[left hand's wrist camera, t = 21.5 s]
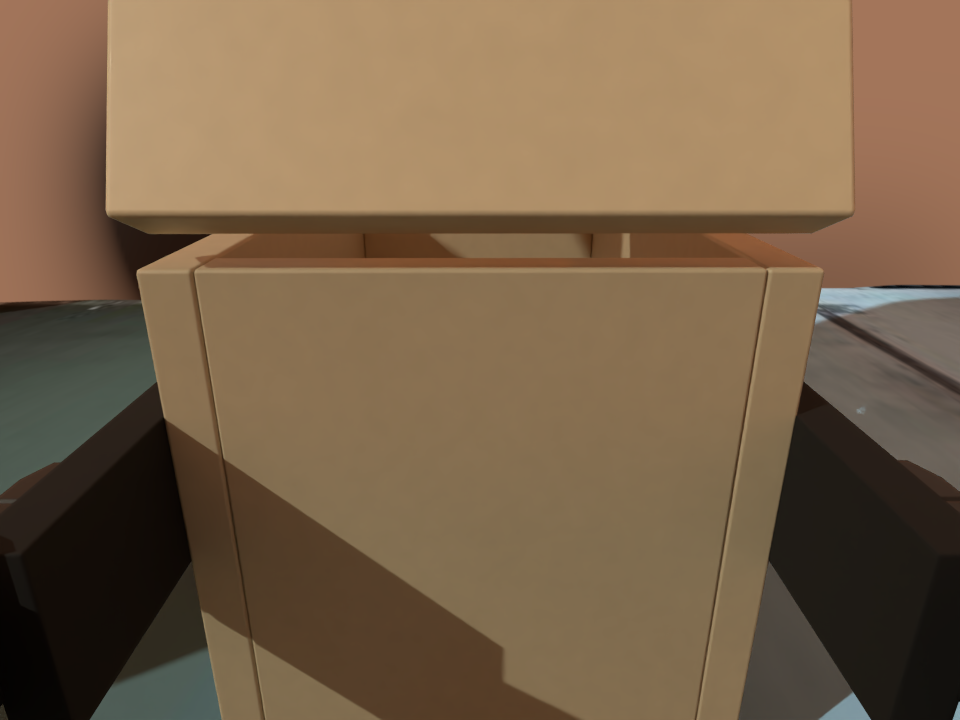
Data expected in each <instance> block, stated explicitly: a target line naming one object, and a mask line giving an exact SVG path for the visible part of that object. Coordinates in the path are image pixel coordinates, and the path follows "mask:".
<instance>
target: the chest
mask: <svg viewBox="0 0 960 720" xmlns="http://www.w3.org/2000/svg"><path fill="white" fill-rule="evenodd" d="M823 277H824V270H823V269H821V268H819V267H817V266H815V265H813V264H810V263H808V262H806V261H804V260H802V259H800V258H798V257H795V256H793V255H791V254H789V253H787V252H785V251H782V250H780V249H778V248H776V247H774V246H772V245H769V244H767V243H765V242H763V241H761V240H759V239H757V238H755V237H752V236H750V235H748V234H746V233H629V234H212V235H210V236H208V237H206V238H204V239H202V240H200V241H197V242H195V243H193V244H191V245H189V246H187V247H185V248H183V249H181V250H179V251H177V252H175V253H172V254H170V255H168V256H166V257H164V258H162V259H160V260H158V261H156V262H154V263H152V264H149V265H147V266H145V267H143V268H141V269H139V270H138V271H137V279H138V284H139V289H140V294H141V300H142V305H143V310H144V315H145V320H146V326H147V331H148V336H149V341H150V347H151V352H152V357H153V362H154V367H155V373H156V378H157V383H158V388H159V394H160V399H161V404H162V409H163V414H164V420H165V425H166V430H167V435H168V441H169V446H170V451H171V456H172V461H173V467H174V472H175V477H176V482H177V488H178V493H179V498H180V503H181V508H182V514H183V519H184V524H185V529H186V535H187V540H188V545H189V550H190V555H191V561H192V566H193V571H194V576H195V582H196V587H197V592H198V597H199V602H200V608H201V613H202V618H203V623H204V629H205V634H206V639H207V644H208V649H209V655H210V660H211V665H212V670H213V675H214V681H215V686H216V691H217V696H218V702H219V707H220V712H221V717H222V720H738V718H739V713H740V708H741V703H742V697H743V692H744V687H745V682H746V677H747V672H748V666H749V661H750V656H751V651H752V646H753V640H754V635H755V630H756V625H757V620H758V614H759V609H760V604H761V599H762V594H763V588H764V583H765V578H766V573H767V568H768V563H769V553H770V548H771V543H772V538H773V532H774V527H775V522H776V517H777V512H778V506H779V501H780V496H781V491H782V486H783V480H784V475H785V470H786V465H787V459H788V454H789V449H790V444H791V439H792V433H793V428H794V423H795V418H796V416H797V412H798V407H799V402H800V396H801V391H802V386H803V381H804V376H805V370H806V365H807V360H808V355H809V350H810V345H811V339H812V334H813V329H814V324H815V319H816V313H817V308H818V303H819V298H820V293H821V287H822V282H823Z"/></svg>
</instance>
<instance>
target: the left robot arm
mask: <svg viewBox="0 0 960 720" xmlns="http://www.w3.org/2000/svg"><path fill="white" fill-rule="evenodd" d="M769 561H770V563H771V564H772V566H773V567H774V569H775V570H776V572H777V573H778V575H779V577H780V578H781V580H782V581H783V583H784V584H785V586H786V587H787V589H788V591H789V592H790V594H791V595H792V597H793V598H794V600H795V602H796V603H797V605H798V606H799V608H800V609H801V611H802V612H803V614H804V616H805V617H806V619H807V620H808V622H809V623H810V625H811V626H812V628H813V630H814V631H815V633H816V634H817V636H818V637H819V639H820V641H821V642H822V644H823V645H824V647H825V648H826V650H827V651H828V653H829V655H830V656H831V658H832V659H833V661H834V662H835V664H836V665H837V667H838V669H839V670H840V672H841V673H842V675H843V676H844V678H845V680H846V681H847V683H848V684H849V686H850V687H851V689H852V690H853V692H854V694H855V695H856V697H857V698H858V700H859V701H860V703H861V704H862V706H863V708H864V709H865V711H866V712H867V714H868V715H869V717H870V719H871V720H953V717H954V714H955V711H956V708H957V705H958V702H960V492H959V491H958V490H957V489H956V488H954V487H953V486H952V485H951V484H949V483H948V482H947V481H946V480H944V479H943V478H942V477H940V476H938V475H936V474H934V473H932V472H930V471H928V470H926V469H924V468H922V467H920V466H918V465H916V464H914V463H911V462H909V461H907V460H896V459H895V458H894V457H893V456H892V455H890V454H889V453H888V452H887V451H886V450H884V449H883V448H882V447H881V446H880V445H878V444H877V443H876V442H875V441H874V440H872V439H871V438H870V437H869V436H868V435H867V434H865V433H864V432H863V431H862V430H861V429H859V428H858V427H857V426H856V425H855V424H853V423H852V422H851V421H850V420H849V419H847V418H846V417H845V416H844V415H843V414H842V413H840V412H839V411H838V410H837V409H836V408H834V407H833V406H832V405H831V404H830V403H828V402H827V401H826V400H825V399H824V398H822V397H821V396H820V395H819V394H818V393H816V392H815V391H814V390H813V389H812V388H811V387H809V386H808V385H807V384H806V383H805V382H803V386H802V391H801V396H800V402H799V407H798V412H797V416H796V418H795V423H794V428H793V433H792V439H791V444H790V449H789V454H788V459H787V465H786V470H785V475H784V480H783V486H782V491H781V496H780V501H779V506H778V512H777V517H776V522H775V527H774V532H773V538H772V543H771V548H770V553H769ZM190 562H191V555H190V550H189V545H188V540H187V535H186V529H185V524H184V519H183V514H182V508H181V503H180V498H179V493H178V488H177V482H176V477H175V472H174V467H173V461H172V456H171V451H170V446H169V441H168V435H167V430H166V425H165V420H164V414H163V409H162V404H161V399H160V394H159V388H158V383H157V382H156V383H155V384H154V385H153V386H151V387H150V388H149V389H148V390H147V391H145V392H144V393H143V394H142V395H141V396H140V397H138V398H137V399H136V400H135V401H134V402H132V403H131V404H130V405H129V406H128V407H126V408H125V409H124V410H123V411H122V412H120V413H119V414H118V415H117V416H116V417H115V418H113V419H112V420H111V421H110V422H109V423H107V424H106V425H105V426H104V427H103V428H101V429H100V430H99V431H98V432H97V433H95V434H94V435H93V436H92V437H91V438H90V439H88V440H87V441H86V442H85V443H84V444H82V445H81V446H80V447H79V448H78V449H76V450H75V451H74V452H73V453H72V454H70V455H69V456H68V457H67V458H66V459H65V460H63V461H62V462H61V463H52V464H50V465H48V466H46V467H44V468H42V469H40V470H38V471H36V472H34V473H32V474H30V475H28V476H26V477H24V478H22V479H20V480H19V481H18V482H16V483H15V484H14V485H13V486H11V487H10V488H9V489H8V490H6V491H5V492H4V493H3V494H1V495H0V706H1V705H2V704H3V705H4V708H5V711H6V714H7V717H8V720H90V718H91V717H92V715H93V714H94V712H95V710H96V709H97V707H98V706H99V704H100V703H101V701H102V699H103V698H104V696H105V695H106V693H107V692H108V690H109V689H110V687H111V685H112V684H113V682H114V681H115V679H116V678H117V676H118V674H119V673H120V671H121V670H122V668H123V667H124V665H125V664H126V662H127V660H128V659H129V657H130V656H131V654H132V653H133V651H134V650H135V648H136V646H137V645H138V643H139V642H140V640H141V639H142V637H143V635H144V634H145V632H146V631H147V629H148V628H149V626H150V625H151V623H152V621H153V620H154V618H155V617H156V615H157V614H158V612H159V610H160V609H161V607H162V606H163V604H164V603H165V601H166V600H167V598H168V596H169V595H170V593H171V592H172V590H173V589H174V587H175V586H176V584H177V582H178V581H179V579H180V578H181V576H182V575H183V573H184V571H185V570H186V568H187V567H188V565H189V564H190Z"/></svg>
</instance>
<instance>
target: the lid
mask: <svg viewBox="0 0 960 720" xmlns="http://www.w3.org/2000/svg"><path fill="white" fill-rule="evenodd" d="M107 60H108V61H107V150H106V212H107V215H108V216H109V217H111V218H113V219H115V220H118V221H120V222H122V223H125V224H127V225H129V226H132V227H134V228H136V229H139V230H141V231H143V232H146V233H148V234H629V233H814V232H816V231H818V230H821V229H823V228H826V227H828V226H830V225H833V224H835V223H837V222H840V221H842V220H845V219H847V218H849V217H852V216H853V214H854V212H855V167H854V100H853V31H852V0H108V59H107Z"/></svg>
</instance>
